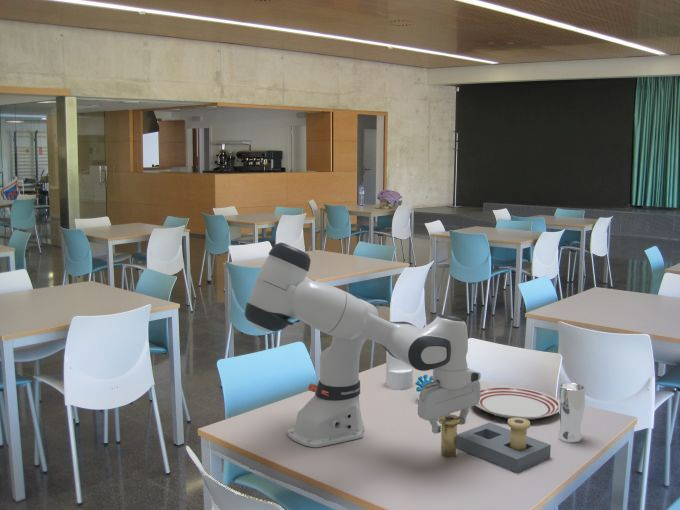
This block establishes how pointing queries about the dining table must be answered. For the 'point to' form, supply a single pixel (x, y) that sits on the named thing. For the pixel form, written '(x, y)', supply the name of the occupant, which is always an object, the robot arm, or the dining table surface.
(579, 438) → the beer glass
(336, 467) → the dining table surface
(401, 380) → the white toy chair
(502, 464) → the jig
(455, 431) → the bushing
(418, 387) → the gear
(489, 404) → the dinner plate
